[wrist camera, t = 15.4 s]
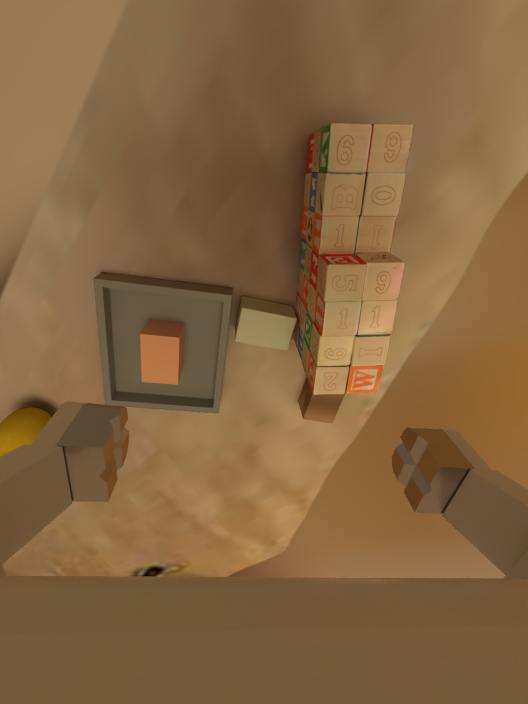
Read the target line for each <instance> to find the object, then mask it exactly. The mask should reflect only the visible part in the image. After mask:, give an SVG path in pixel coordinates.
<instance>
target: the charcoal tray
mask: <svg viewBox="0 0 528 704" xmlns="http://www.w3.org/2000/svg"><path fill="white" fill-rule="evenodd" d="M94 289H95V300H96V311H97V322H98V333H99V344H100V355H101V366H102V377H103V388H104V399H105V405H112V406H125V407H138V408H152V409H165V410H179V411H192V412H206V413H219V407H220V398H221V390H222V381H223V372H224V363H225V354H226V345H227V336H228V327H229V318H230V309H231V300H232V288H226V287H218V286H210V285H202V284H194V283H186V282H178V281H170V280H162V279H154V278H146V277H138V276H130V275H122V274H114V273H106V272H102V273H100V274H99V275H98V276H96V277H95V278H94ZM149 319H154V320H163V321H173V322H183V323H185V327H184V356H183V369H182V373H181V376H180V380H179V383H178V385H174V384H161V383H149V382H142V374H141V345H140V333H141V332H142V330H143V328H144V327H145V325H146V323H147V322H148V320H149Z"/></svg>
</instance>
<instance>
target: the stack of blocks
mask: <svg viewBox="0 0 528 704" xmlns="http://www.w3.org/2000/svg"><path fill="white" fill-rule="evenodd" d="M413 130H414V125H405V124H345V123H343V124H340V123H331V124H329V125H327V126H325V127H323V128H322V129H321V130H319V131H316V132H315V133H314V134H311V135H310V136H309V142H308V158H307V173H306V175H305V188H304V206H303V215H302V228H301V237H302V238H301V251H300V267H299V280H298V291H297V298H296V312H295V315H296V318H297V320H296V323H295V326H294V334H293V337H294V341H295V343H296V347H297V348H298V351H299V354H300V357H301V360H302V364H303V367H304V370H305V373H306V376H307V378H308V381H309V384H310V386H311V390H312V393H313V394H314V395H319V394H344V393H345V392H346V393H348V394H355V393H376V392H378V388H379V384H380V379H381V375H382V370H383V365H384V364H385V362H386V357H387V351H388V347H389V341H390V333H391V332H392V329H393V324H394V319H395V314H396V309H397V304H398V302H397V299H398V297H399V292H400V287H401V282H402V277H403V271H404V266H405V262H404V261H402V260H400V259H399V258H397V257H395V256H393V255H392V254H390V249H391V244H392V238H393V233H394V228H395V223H396V217H397V215H398V213H399V208H400V203H401V197H402V192H403V187H404V182H405V177H406V173H405V170H406V165H407V161H408V155H409V150H410V145H411V140H412V135H413Z"/></svg>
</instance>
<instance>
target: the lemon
mask: <svg viewBox="0 0 528 704" xmlns="http://www.w3.org/2000/svg"><path fill="white" fill-rule="evenodd" d="M51 418H52V417H51V416H50V415H49V414H48V413H47V412H46V411H44V410H42V409H40V408H35V407H28V408H23V409H20V410H17V411H15V412H13V413H12V414H10V415H9V416H8V417H7V418H5V419H4V420H3V421H2V422H1V424H0V457H1V456H3V455H5V454H7V453H9V452H11V451H13V450H15V449H17V448H18V447H20V446H22V445H31V444H32V443H33V441H34V440H35V439H36V437H37V436H38V435H39V433H40V432H41V431H42V430H43V428H44V427H45V426H46V424H47V423H48V422H49V420H50V419H51Z"/></svg>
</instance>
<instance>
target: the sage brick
mask: <svg viewBox="0 0 528 704" xmlns="http://www.w3.org/2000/svg"><path fill="white" fill-rule="evenodd" d="M296 320H297V318H296V315H295V313H294V311H293V308H292V306H289V305H284V304H279V303H274V302H270V301H265V300H260V299H255V298H250V297H245V296H242V297H241V302H240V306H239V311H238V316H237V320H236V325H235V341H236V342H242V343H247V344H253V345H258V346H264V347H269V348H275V349H281V350H286V351H287V349H288V346H289V343H290V339H291V336H292V333H293V330H294V326H295V323H296Z"/></svg>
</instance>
